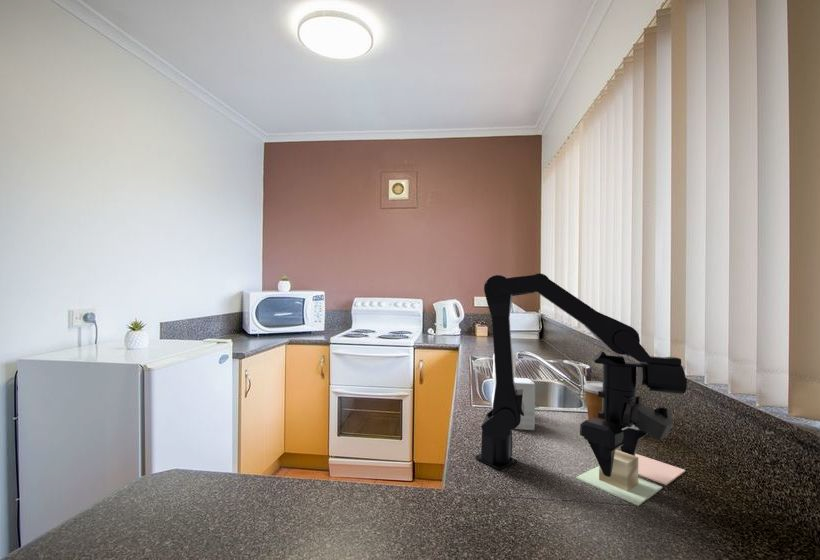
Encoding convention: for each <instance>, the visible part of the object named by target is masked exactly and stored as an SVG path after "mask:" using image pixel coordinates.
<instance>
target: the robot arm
mask: <svg viewBox="0 0 820 560" xmlns="http://www.w3.org/2000/svg"><path fill="white" fill-rule="evenodd" d="M483 291H484V292H483V293H484V295H485V300H486V303H487V307H488V310H489V314H490V317H491V325H492V326H491V327H492V339H493V341H492V342H493V352H494V353H493V355H494V358H495V373H496V388H495V394H494V402H493V408H492V409H491V410H489V412H487V413H486V414H485V416H484V419H483V422H482V424H481V425H480V427H481V446H480V447H481V449H480V450H481V451H480V454H476V455H475V457H474V458H475V460H478V461H480V462H482V463H484V464H486V465H488V466H489V467H492V468H494V469H496V470H501V469H502V470H503V469H504V468H508V467H509V466H513V465H515V464H518V459H516V458H513V430H516V429H515V428H516V427H517V426H518V425H519V424H520V421H521V415H522V416H524V409H525V406H524V404H523V401H522V397H523V389H519V390H517V389H516V385H515V382H514V374H513V360H512V349H513V348H512V336H511V335H512V333H511V322H510V321H511V318H510V316H511V309H512V304H513V303H512V302H513V297H516V296H521V295H529V294H535V293H537V294H538V295H540V296H541V297H543V298H544V299H546V300H548V301H549V302H550V303H551V304H553V305H554V306H556V307H557V308H559V309H560V310H561V311H563V312H565V313H566V314H567V315H568V316H570V317H572V318H573V319H574V320H576V321H577V322H579V323H581V325H583V327H584V328H586V329H587V330H588V332H590V333H591V335H593V336H594V337H595V338H596V339H597V340H598V341H599V342H600V343H601V344H602V345H603V347H605V348H607V350H610V351H612V352H614V353H616V354H618V355H611V354H610V355H609V354H608V355H607V354H606V353H605V352H604V351H603V350H599V352H598V353H597V354H596V355H595V356H593V357H591V361H592V362H594V363H595V364H598V365H600V364H601V365H602V382H603V390H602V391H598V397H602V411H601V412H598V418H601V419H605V421H603V420H599V419H596V418H592V419H586V420H584V421H583V422H582V423H580V424H579V435H580V436H581V437H583V439H585V440H586V441H587V442H588V444H589V447H590V448H591V451H592V452H593V454H594V456H595V458H596V461H597V462H598V466H599V465H600V467H601V470H602V472H603V474H604V475H605V476H607V477H610V476H611V473H612V467H613V461H614V454H615V450H618V449H620V451H621V452H624V453H627V454H630V455H633V456H635V454H637V450H638V448H639V444H640V441H641V440H642V438H644V437H645V436H647V435H648V436H649V437H650V438H652V439H653V440H655V441H659V442H660V441H662V440H663V439H666V438H668V436H669V433H670V431H671V429H672V428H674V427H675V424H674V421H675V419H673V418H672V413H671V410H670V409H669V408H667V407H665V406H663V405H662V406H658V407H657V408H655V409H653V407H651V406H650V407H649V406H646V405H644V404H643V398H642V397H641V395H639V394H637V382H638V384H639V386H643V388H644V389H645V391H646V392H652V393H663V394H671V395H680V396H681V395H685V393H686V391H687V387H688V378H687V377H686V374H685V369H684V366H682V359H681V358H679V357H675V356H666V357H665V356H664V357H661V356H650V354H649V353H648V352H647V350H646V349H645V348H644V347H643V346H642V345H641V343H640V341H641V340H640V334H639V333H638V331H637V330H636V329H635V328H633V327H632V326H630V325H628V324H626V323H624V322H621V321H619V320H618V319H615V318H613V317H610V316H608V315H606V314H603V313H601V312H599V311H597V310H596V309H594V308H593V307H592V306H590V305H588V304H586V303H585V302H584V301H582V300H581V299H579V298H578V297H576V296H575V295H574V294H572V293H571V292H569V291H567V290H566V289H565V288H563V287H561V286H560V285H558V284H557V283H555V282H554V281H553V280H552V279H550V278H549V277H548V276H547V275H546V274H544V273H540V272H539V273H535V274H531V275H522V276H513V277H508V278H507V277H505V276H503V275H501V274H495V275H492V276H491V277H489V278H488V279H487V280H486V281H485V283H484V285H483ZM620 355H621V356H620ZM622 355H624V356H627V357H629V358H630V359H633V360H634V361H627V360H625V358H624V356H622ZM635 360H636V361H637V362H636V361H635Z"/></svg>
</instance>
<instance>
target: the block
mask: <svg viewBox="0 0 820 560" xmlns="http://www.w3.org/2000/svg"><path fill="white" fill-rule="evenodd" d="M598 466H599V480H601V481H603V482H606V483H608V484H610V485H613V486H615V487H618V488H620V489H623V490H625V491H629V490H630V489H632V488H633V487H635V486H636V485H638V478H639V475H638V457H636V456H633V455H630V454H627V453H624V452H622V451H621V450H618V449H616V450H615V454H614V461H613V467H612V473H611V476H610V477H607V476H605V475H604V474H603V472H602V470H601V467H600V465H599V464H598Z"/></svg>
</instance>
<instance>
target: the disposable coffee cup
mask: <svg viewBox="0 0 820 560" xmlns="http://www.w3.org/2000/svg"><path fill="white" fill-rule="evenodd" d="M582 388H583V390H584V392H585V393H584V394H585V401H586V410H587V420H589V419H592V418H596V419H599V420H603V421H605V419H601V418H598V412H601V411H602V397H598V391H602V390H603V381H597V380H586V381H585V382H584V385H583V387H582Z"/></svg>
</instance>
